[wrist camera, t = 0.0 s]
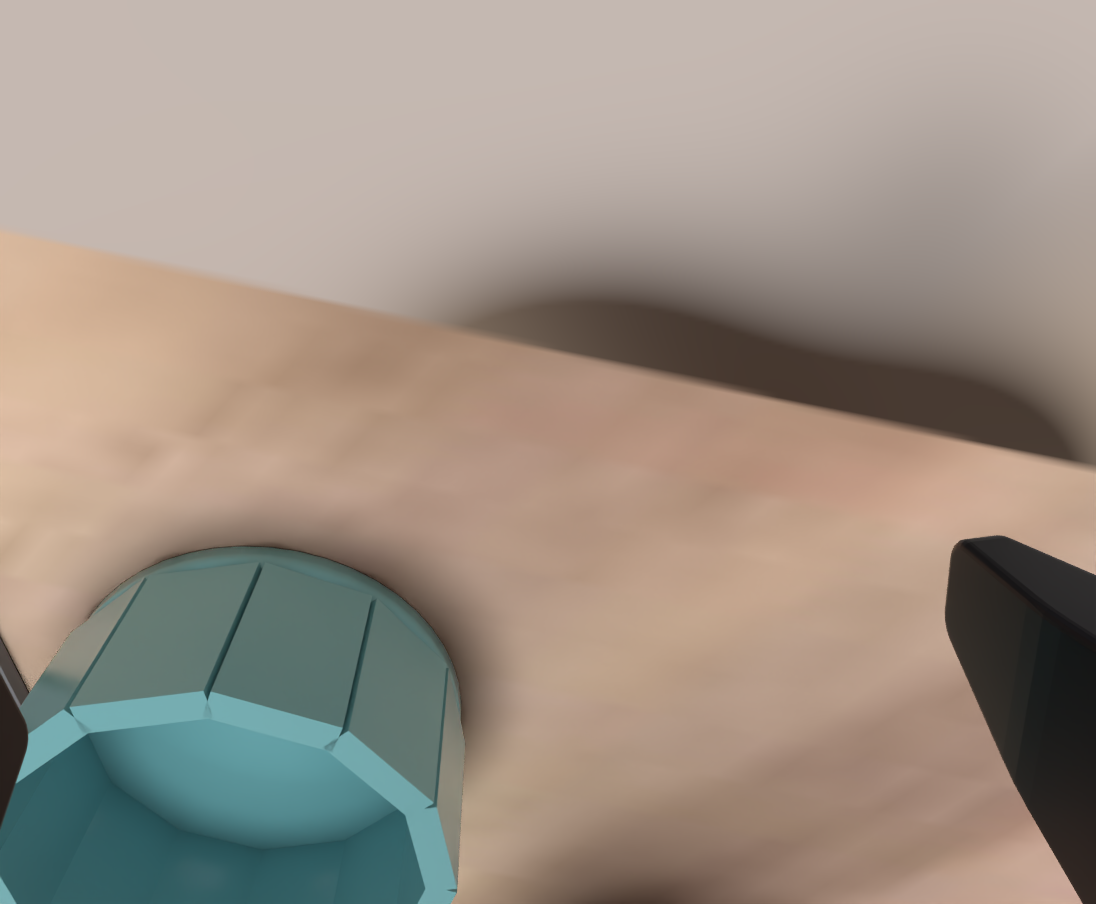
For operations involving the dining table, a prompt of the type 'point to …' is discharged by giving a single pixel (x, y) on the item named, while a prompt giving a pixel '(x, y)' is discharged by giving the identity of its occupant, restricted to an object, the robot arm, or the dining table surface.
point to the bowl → (241, 744)
